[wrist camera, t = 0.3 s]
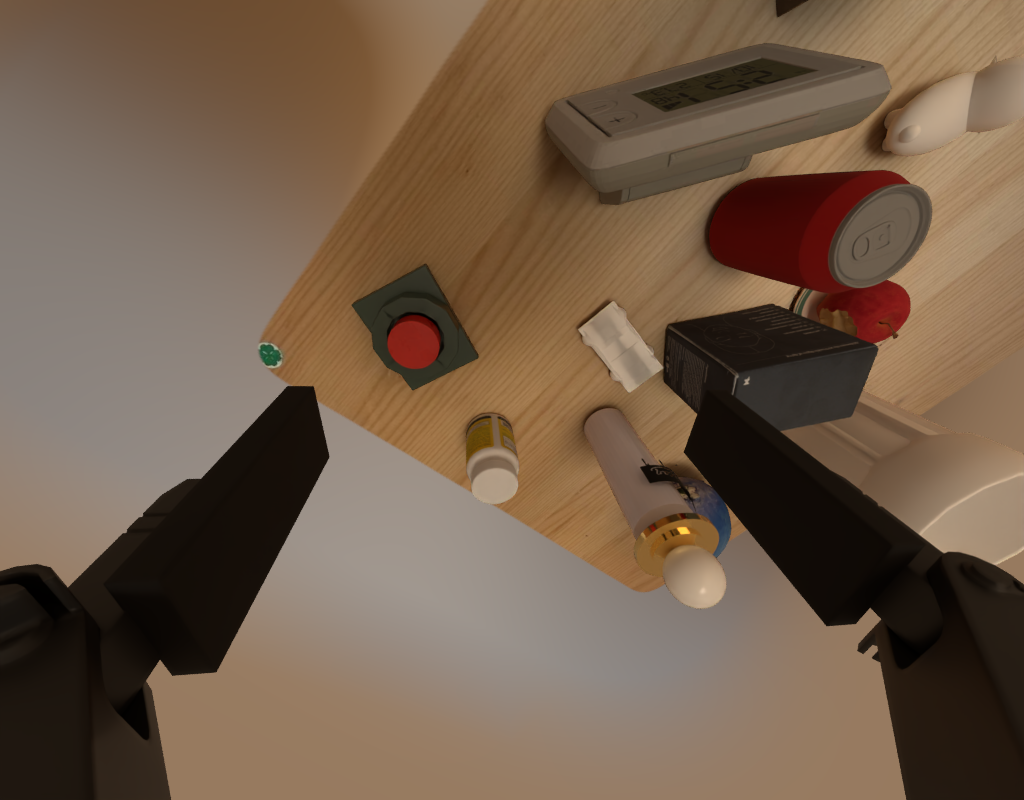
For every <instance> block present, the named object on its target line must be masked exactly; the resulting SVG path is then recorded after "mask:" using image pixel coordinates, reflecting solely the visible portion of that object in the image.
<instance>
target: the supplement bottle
mask: <svg viewBox="0 0 1024 800" xmlns="http://www.w3.org/2000/svg"><path fill="white" fill-rule="evenodd" d="M466 470H467V475H468V477H469V479H470V480H471V489H472V493H473V495H474V496H475V497H476V498H477V499H478V500H479V501H481V502H484V503H487V504H499V503H503V502H505V501H507V500H509V499H510V498H512V497H513V496H514V494H515V493H516V491H517V489H518V479H517V475H518V472H519V461H518V456H517V451H516V446H515V441H514V436H513V431H512V427H511V425H510V423H509V422H508V420H507V419H506V418H504V417H503V416H501V415H498V414H492V413H489V414H482V415H479V416H477V417H476V418H474V419H473V420H472V421H471V422H470V424H469V425H468V428H467V432H466Z"/></svg>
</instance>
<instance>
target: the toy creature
mask: <svg viewBox="0 0 1024 800" xmlns="http://www.w3.org/2000/svg"><path fill="white" fill-rule="evenodd" d="M1023 117H1024V56H1017V57H1012V58H1009V59H1005V60H1003V61H999V62H997V60H996V56H995V58H994V59H993V61H992V62H991V64H990V65H989V66H987V67H985V68H984V69H982V70H980V71H975V72H968V73H960V74H957V75H954V76H952V77H949V78H946V79H944V80H941V81H939V82H937V83H935V84H934V85H932V86H930V87H929V88H927V89H925V90H924V91H922V92H921V93H919V94H918V95H917V96H916V97H914V98H913V99H912V100H911V101H910V102H908V103H907V104H906V105H905V106H904V107H903V108H902V109H898V110H893V111H891V112H890V113H889V114H888V115H887V116H886V118H885V121H884V126H885V128H886V129H888V131H887V135H886V138H885V139H884V140H883V143H882V149H883V150H884V151H892V152H893V153H894V154H897V155H902V156H913V155H920V154H925V153H927V152H930V151H933V150H935V149H938V148H941V147H943V146H945V145H947V144H948V143H950V142H952V141H954V140H955V139H957V138H959V137H960V136H962V135H963V134H964V133H966V132H967V131H969V132H978V133H980V132H985V131H990V130H994V129H997V128H1001V127H1004V126H1007V125H1009V124H1012V123H1014V122H1016V121H1018V120H1020V119H1022V118H1023Z"/></svg>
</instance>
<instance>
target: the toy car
mask: <svg viewBox="0 0 1024 800" xmlns="http://www.w3.org/2000/svg"><path fill="white" fill-rule="evenodd" d="M578 331H579V332H580V333H581V334H582V335H583V336H582V341H583V343H584V344H585V345H587V346H591V347H592V348H593V349H594V350H595V352H596V353H597V354H598V355H599V357H600V358H601V359H602V360H603V362H604V363H605V364H606V365H607V367H608V368H609V369H610V370H611V372H610V377H611V378H612V379H613V380H614V381H620V383H621V384H622V385H623V386H624V388H625V389H626V390H627V391H628V393H630V392H632V391H633V390H634V389H636V388H637V387H639V386H640V385H641V384H643V383H644V382H645V381H647V380H648V379H649V378H651V377H652V376H653V375H655V374H656V373H658V372H659V371H660V370H662V369H663V366H662V365H661V364H660V363H659V361H658V360H657V359H656V357H655V356H654V355H653V354H654V350H653V348H652V347H651V346H650V345H646V344H645V342H644V341H643V340H642V338H641V337H640V335H639V334H638V333H637V331H636V330H635V329H634V327H633V326H632V325H631V323H630V322H629V321H628V319H627V318H626V311H625V310H624V309H623V308H621V307H618V306H617V305H616V303H615V302H614V301H612V302H611V303H610V304H608V305H607V306H606V307H605V308H604V309H602V310H601V311H600V312H599V313H598V314H596V315H595V316H594V317H593V318H591V319H590V320H589V321H588V322H587V323H585V324H584V325H583V326H582V327H580V328H579V329H578Z"/></svg>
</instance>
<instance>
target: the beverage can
mask: <svg viewBox="0 0 1024 800" xmlns="http://www.w3.org/2000/svg"><path fill="white" fill-rule="evenodd" d="M931 219H932V204H931V200H930V198H929V196H928V194H927V193H926V192H925V191H924V190H923V189H922V188H920V187H919V186H916V185H913V184H910V183H909V182H908V181H907V180H906V179H905V178H903V177H902V176H900V175H899V174H897V173H894V172H891V171H886V170H875V171H854V172H836V173H819V174H803V175H789V176H776V177H764V178H756V179H752V180H749V181H746V182H744V183H742V184H741V185H739V186H738V187H736V188H735V189H734V190H732V191H731V192H730V193H729V194H728V195H727V196H726V197H725V199H724V200H723V201H722V202H721V204H720V205H719V207H718V209H717V210H716V212H715V215H714V217H713V219H712V223H711V227H710V234H709V241H710V247H711V250H712V253H713V255H714V256H715V258H716V259H717V260H718V261H719V262H720V263H722V264H723V265H725V266H728V267H731V268H734V269H738V270H741V271H744V272H748V273H751V274H755V275H758V276H762V277H765V278H769V279H772V280H776V281H780V282H784V283H787V284H791V285H795V286H799V287H802V288H806V289H810V290H814V291H818V292H822V293H840V292H844V291H848V290H851V289H855V288H866V287H870V286H874V285H876V284H879V283H881V282H883V281H885V280H887V279H888V278H890V277H892V276H893V275H895V274H896V273H897V272H898V271H900V270H901V269H902V268H903V267H904V266H905V265H906V264H907V263H908V262H909V261H910V260H911V259H912V257H913V256H914V255H915V254H916V252H917V251H918V249H919V248H920V246H921V245H922V243H923V241H924V239H925V237H926V235H927V233H928V230H929V227H930V223H931Z"/></svg>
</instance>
